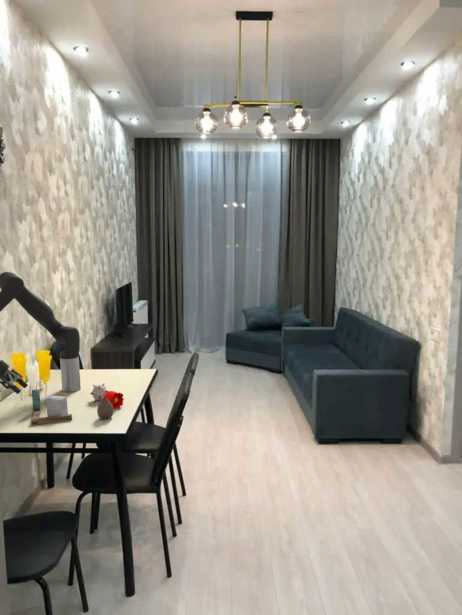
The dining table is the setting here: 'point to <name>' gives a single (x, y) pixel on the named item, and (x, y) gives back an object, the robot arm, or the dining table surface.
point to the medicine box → (56, 406)
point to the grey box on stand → (37, 411)
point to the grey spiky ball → (99, 392)
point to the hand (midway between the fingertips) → (23, 389)
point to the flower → (114, 398)
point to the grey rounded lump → (105, 409)
